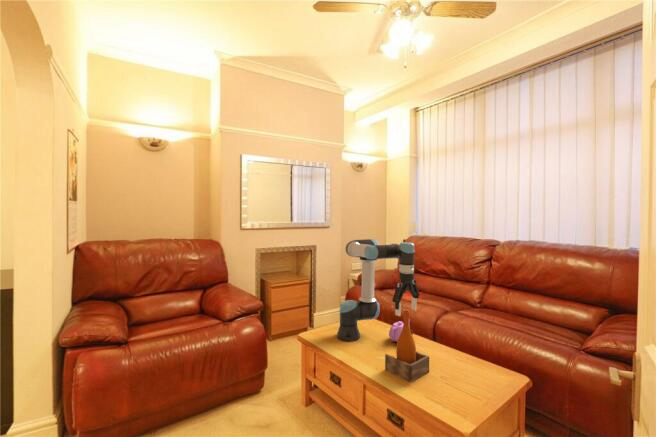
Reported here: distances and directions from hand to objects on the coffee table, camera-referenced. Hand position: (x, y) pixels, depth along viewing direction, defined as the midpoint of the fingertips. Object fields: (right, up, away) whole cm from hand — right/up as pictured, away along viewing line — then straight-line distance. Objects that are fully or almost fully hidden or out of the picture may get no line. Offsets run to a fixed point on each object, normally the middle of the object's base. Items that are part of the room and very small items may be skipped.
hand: (406, 312), depth 164 cm
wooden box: (0, -31, 0) cm, 31 cm away
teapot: (+6, -30, +38) cm, 49 cm away
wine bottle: (0, -29, 0) cm, 29 cm away
